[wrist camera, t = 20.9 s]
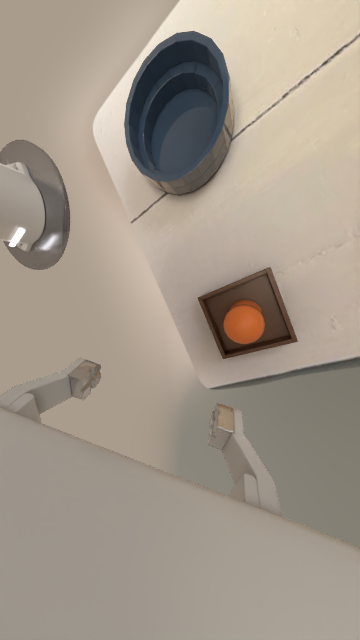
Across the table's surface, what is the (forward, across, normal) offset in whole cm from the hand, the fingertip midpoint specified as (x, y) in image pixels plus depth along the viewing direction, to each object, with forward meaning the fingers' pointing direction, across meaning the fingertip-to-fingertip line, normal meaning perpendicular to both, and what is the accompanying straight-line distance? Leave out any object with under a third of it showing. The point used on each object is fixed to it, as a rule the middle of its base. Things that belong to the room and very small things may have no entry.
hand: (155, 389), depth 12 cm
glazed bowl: (+26, +8, -21) cm, 35 cm away
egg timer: (+20, -8, +1) cm, 21 cm away
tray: (+20, -8, +1) cm, 22 cm away
